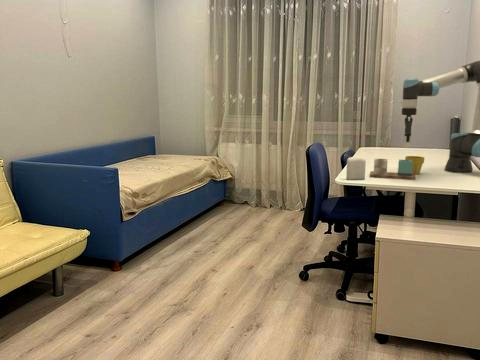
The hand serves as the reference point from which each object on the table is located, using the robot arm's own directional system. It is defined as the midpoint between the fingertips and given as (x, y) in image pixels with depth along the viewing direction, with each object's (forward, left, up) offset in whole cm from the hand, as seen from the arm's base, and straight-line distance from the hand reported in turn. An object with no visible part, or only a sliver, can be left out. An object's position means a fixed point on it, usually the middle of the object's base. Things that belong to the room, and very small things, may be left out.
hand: (406, 146), depth 242 cm
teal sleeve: (0, 0, -16) cm, 16 cm away
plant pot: (-15, -8, -18) cm, 24 cm away
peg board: (+5, -5, -17) cm, 19 cm away
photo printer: (+28, -8, -18) cm, 34 cm away
